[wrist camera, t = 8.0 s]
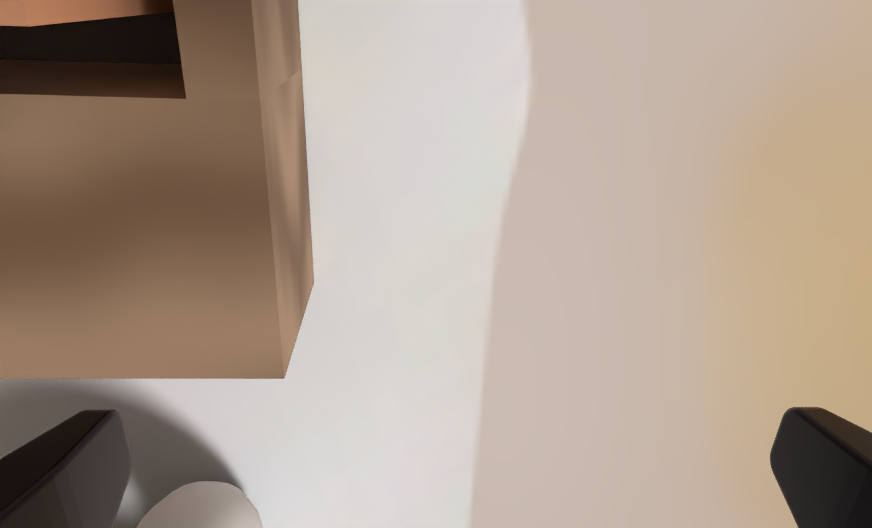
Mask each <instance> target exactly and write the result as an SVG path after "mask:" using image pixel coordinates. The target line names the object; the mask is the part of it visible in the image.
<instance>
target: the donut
mask: <svg viewBox="0 0 872 528" xmlns="http://www.w3.org/2000/svg"><path fill="white" fill-rule="evenodd" d="M136 528H263V527H262V523H261V520H260V517H259V514H258V511H257V509H256V508H255V507H254V505H253V504H252V503H251V502H250V500H249V499H248V498H247V497H246V496H245V495H244V493H243V492H242V491H241V490H240V489H239V488H237V487H235V486H233V485H231V484H229V483H225V482H218V481H199V482H193V483H188V484H185V485H183V486H181V487H179V488H177V489H176V490H174V491H172V492H171V493H169V494H168V495H167V496H166V497H165V498H163V499H162V500H161V501H160V502H158V503H157V504H156V505H155V506H154V507H152V509H151V510H150V511H149V512H148V513H147V514H146V515H145V516H144V517H143V518H142V520H141V521H140V523H139V524H138V526H137V527H136Z"/></svg>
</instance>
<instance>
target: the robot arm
mask: <svg viewBox="0 0 872 528" xmlns="http://www.w3.org/2000/svg"><path fill="white" fill-rule="evenodd" d="M770 462H771V468H772V471H773V473H774V475H775V478H776V480H777V482H778V484H779V487H780V488H781V491H782V493H783V495H784V497H785V499H786V502H787V504H788V506H789V508H790V510H791V513H792V515H793V517H794V519H795V521H796V523H797V526H798V528H872V433H871V432H869V431H867V430H865V429H863V428H861V427H859V426H857V425H855V424H853V423H851V422H849V421H847V420H845V419H843V418H841V417H839V416H837V415H835V414H833V413H831V412H829V411H827V410H825V409H822V408H818V407H793V408H790V409H788V410H787V411H786V412H785V413H784V415H783V418H782V421H781V423H780V426H779V429H778V432H777V435H776V438H775V441H774V444H773V446H772V449H771V453H770ZM131 468H132V459H131V453H130V449H129V445H128V441H127V436H126V432H125V428H124V423H123V420H122V417H121V415H120V414H119V412H117V411H115V410H84V411H81V412H79V413H78V414H76V415H74V416H73V417H71V418H69V419H67V420H66V421H64V422H62V423H61V424H59V425H57V426H56V427H54V428H52V429H51V430H49V431H47V432H46V433H44V434H42V435H40V436H39V437H37V438H35V439H34V440H32V441H30V442H29V443H27V444H25V445H24V446H22V447H20V448H18V449H17V450H15V451H13V452H12V453H10V454H8V455H7V456H5V457H3V458H2V459H0V528H112V527H113V524H114V521H115V519H116V516H117V513H118V510H119V507H120V504H121V501H122V498H123V495H124V493H125V490H126V487H127V484H128V481H129V478H130V474H131Z"/></svg>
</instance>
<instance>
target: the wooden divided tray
mask: <svg viewBox="0 0 872 528" xmlns="http://www.w3.org/2000/svg"><path fill="white" fill-rule="evenodd" d="M173 6H174V13H175V20H176V27H177V35H178V42H179V49H180V56H181V64H182V65H166V64H133V63H100V62H67V61H35V60H2V59H0V378H245V379H284V378H285V374H286V371H287V368H288V365H289V361H290V358H291V355H292V352H293V349H294V345H295V342H296V339H297V336H298V332H299V329H300V326H301V323H302V319H303V316H304V313H305V310H306V307H307V303H308V300H309V297H310V294H311V290H312V287H313V284H314V276H313V259H312V241H311V224H310V206H309V189H308V171H307V154H306V137H305V119H304V102H303V84H302V67H301V49H300V32H299V14H298V0H173Z"/></svg>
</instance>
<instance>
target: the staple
mask: <svg viewBox="0 0 872 528" xmlns="http://www.w3.org/2000/svg"><path fill="white" fill-rule="evenodd" d="M165 12H174V6H173V0H0V25H1V26H28V27H29V26H39V25H48V24H58V23H68V22H78V21H87V20H97V19H107V18H116V17H126V16H136V15H146V14H155V13H165Z"/></svg>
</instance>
